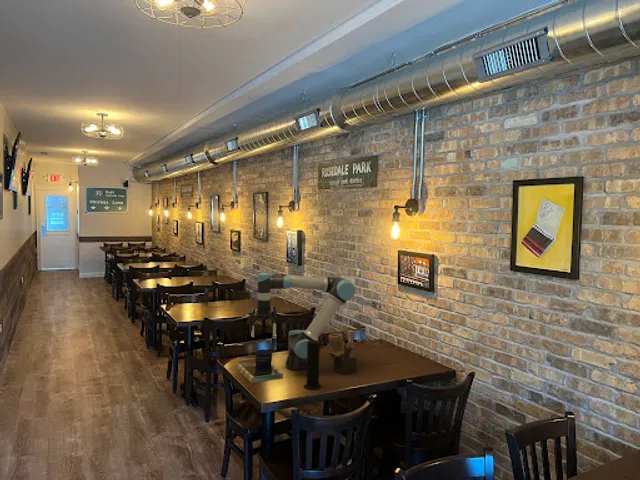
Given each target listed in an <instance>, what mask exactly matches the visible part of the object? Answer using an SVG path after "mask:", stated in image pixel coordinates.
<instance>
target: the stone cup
mask: <svg viewBox="0 0 640 480" xmlns="http://www.w3.org/2000/svg"><path fill="white" fill-rule="evenodd" d="M328 342H329V345H330V346H331V350H330V351H329V354H331V355H333V356H335V355H340V354H342V353H344V335H343V334H342V333H340V332H339V333H338V332H336V333H335V332H334V333H331V334H329V335H328ZM350 355H352V353H351V354H350Z"/></svg>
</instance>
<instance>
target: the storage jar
mask: <svg viewBox="0 0 640 480" xmlns="http://www.w3.org/2000/svg"><path fill="white" fill-rule="evenodd" d="M254 352H255V355H254V358H255V362H256V366H255V367H254V377H256V376H263V375H270V374H273V372H272V367H271V364H272V362H273V361H272V360H273V351H272V350H271V349H263V348H262V349H258V350H256V351H254Z"/></svg>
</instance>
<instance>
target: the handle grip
mask: <svg viewBox="0 0 640 480" xmlns="http://www.w3.org/2000/svg"><path fill="white" fill-rule="evenodd" d="M307 343H308V345H307V369H306V383H305V384H304V385H303V388H304V389H306V390H307V391H317V390H321V389H322V388H323V387H322V385H321V384H320V383H319V381H320V380H319V379H320V341H319V340H318V341H317V340H310V341H307Z"/></svg>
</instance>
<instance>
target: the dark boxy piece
mask: <svg viewBox="0 0 640 480" xmlns="http://www.w3.org/2000/svg"><path fill="white" fill-rule="evenodd" d="M343 350H344V353H342V354H340V355H333V365H332V366H333V367H332V371H333V372H335V373H338V374H340V375H342V376H343V375H344V376H345V375H351V374H353V373H357V356H354V355H352V351H353V348H352V347H351V345H350V346H349V345H348V346H347V345H346V344H343ZM350 354H351V355H350Z"/></svg>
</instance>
